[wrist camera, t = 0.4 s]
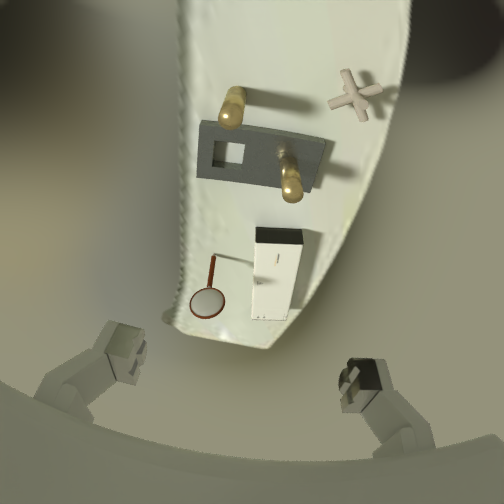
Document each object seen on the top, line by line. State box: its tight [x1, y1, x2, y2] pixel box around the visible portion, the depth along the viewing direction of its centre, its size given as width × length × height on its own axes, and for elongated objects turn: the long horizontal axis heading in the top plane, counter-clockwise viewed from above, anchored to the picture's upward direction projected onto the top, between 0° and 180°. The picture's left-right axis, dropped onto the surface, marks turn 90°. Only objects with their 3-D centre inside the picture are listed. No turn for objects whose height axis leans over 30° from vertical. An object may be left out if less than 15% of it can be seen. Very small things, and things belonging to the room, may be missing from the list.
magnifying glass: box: [190, 254, 225, 319], centre depth 74 cm, size 9×2×20 cm, turn 97°
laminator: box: [251, 228, 304, 320], centre depth 84 cm, size 34×12×6 cm, turn 178°
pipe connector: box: [327, 69, 383, 122], centre depth 44 cm, size 10×10×10 cm
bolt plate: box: [196, 120, 325, 203], centre depth 55 cm, size 24×12×13 cm, turn 82°
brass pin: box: [218, 86, 246, 130], centre depth 45 cm, size 4×4×13 cm
